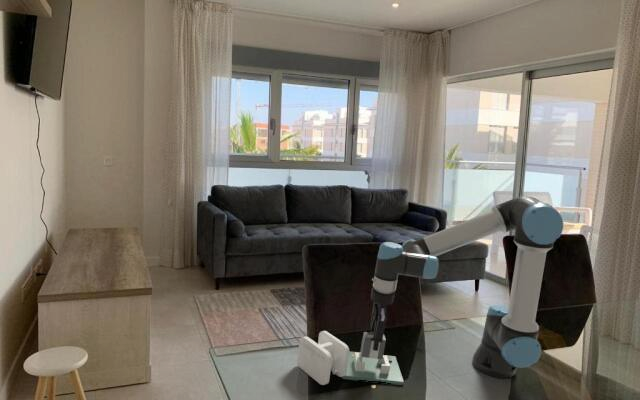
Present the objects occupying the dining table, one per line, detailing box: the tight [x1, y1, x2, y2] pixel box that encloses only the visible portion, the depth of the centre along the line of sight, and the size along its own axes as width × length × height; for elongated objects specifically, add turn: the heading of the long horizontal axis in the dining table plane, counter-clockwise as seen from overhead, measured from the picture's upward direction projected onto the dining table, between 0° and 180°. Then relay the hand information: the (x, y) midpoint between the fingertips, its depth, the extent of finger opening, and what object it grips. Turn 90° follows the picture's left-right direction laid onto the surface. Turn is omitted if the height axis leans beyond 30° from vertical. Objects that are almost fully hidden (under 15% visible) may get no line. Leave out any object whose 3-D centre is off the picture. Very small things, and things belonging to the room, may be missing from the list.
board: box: [341, 351, 405, 386], centre depth 167 cm, size 20×16×4 cm
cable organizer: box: [296, 330, 351, 386], centre depth 160 cm, size 15×11×12 cm
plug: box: [359, 331, 387, 359], centre depth 165 cm, size 7×4×8 cm, turn 92°
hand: (372, 354), depth 165 cm, fingers closed on plug, 4 cm apart
